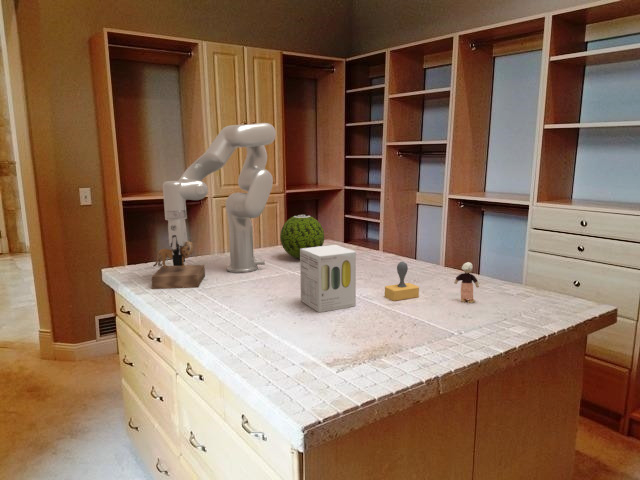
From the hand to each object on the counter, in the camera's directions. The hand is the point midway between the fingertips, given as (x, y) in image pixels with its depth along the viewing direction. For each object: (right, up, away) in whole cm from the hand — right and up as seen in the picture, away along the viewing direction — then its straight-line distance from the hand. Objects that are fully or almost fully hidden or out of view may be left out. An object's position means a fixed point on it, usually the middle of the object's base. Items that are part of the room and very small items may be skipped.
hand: (179, 263), depth 173 cm
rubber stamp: (+79, -10, -19) cm, 82 cm away
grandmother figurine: (+99, -11, -24) cm, 102 cm away
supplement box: (+55, -12, -25) cm, 61 cm away
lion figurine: (-1, -1, 0) cm, 2 cm away
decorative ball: (+44, 0, +39) cm, 59 cm away
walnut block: (0, -8, +1) cm, 8 cm away
